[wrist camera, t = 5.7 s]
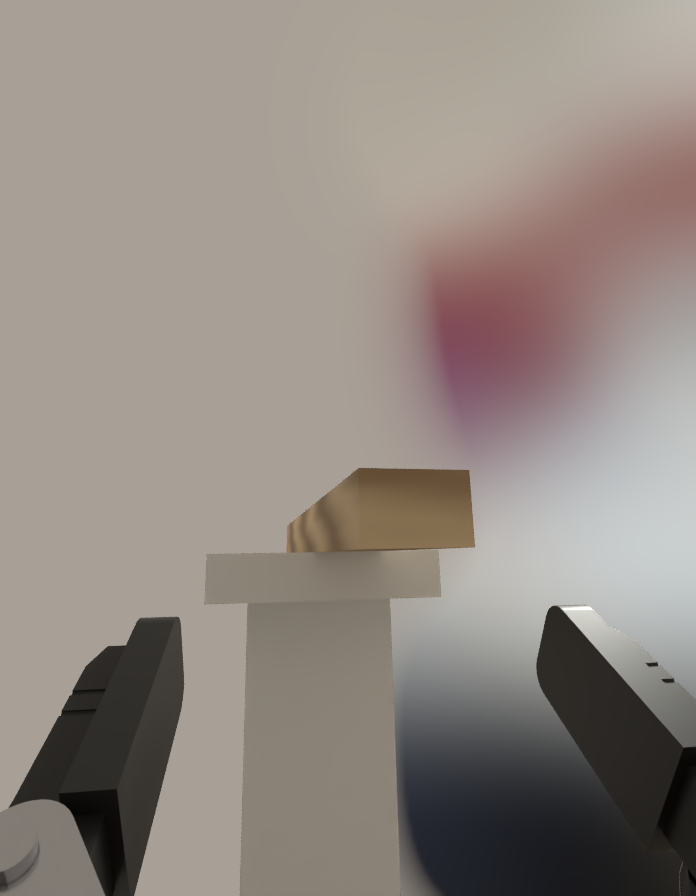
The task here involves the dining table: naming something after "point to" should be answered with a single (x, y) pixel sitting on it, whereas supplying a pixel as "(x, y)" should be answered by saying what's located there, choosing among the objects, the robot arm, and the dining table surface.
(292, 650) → the stand
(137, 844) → the robot arm
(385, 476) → the slat
